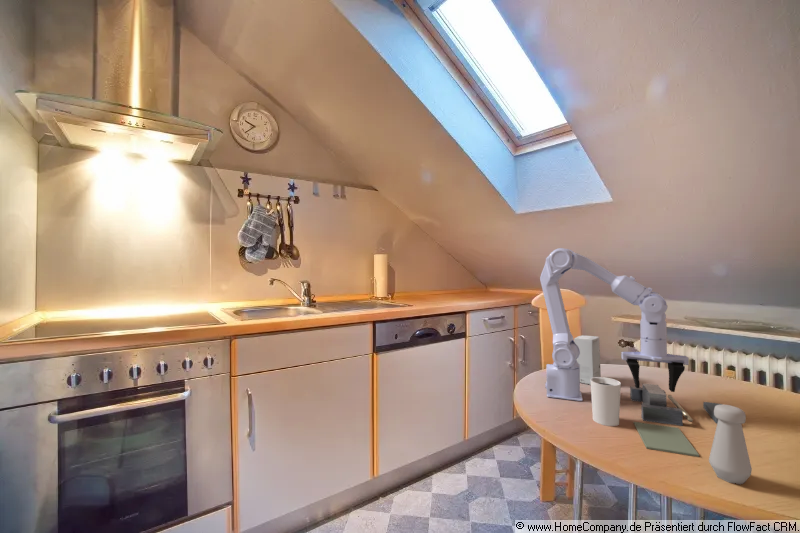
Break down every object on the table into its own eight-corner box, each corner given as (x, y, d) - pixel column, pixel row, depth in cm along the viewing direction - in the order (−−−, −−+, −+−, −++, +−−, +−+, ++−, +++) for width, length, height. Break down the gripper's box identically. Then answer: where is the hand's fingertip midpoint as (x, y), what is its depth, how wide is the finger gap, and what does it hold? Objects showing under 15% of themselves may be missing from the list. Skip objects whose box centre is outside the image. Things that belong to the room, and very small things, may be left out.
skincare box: (593, 386, 114) (593, 340, 114) (573, 382, 119) (573, 337, 118) (601, 379, 120) (600, 336, 120) (582, 376, 125) (581, 333, 125)
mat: (646, 448, 76) (646, 446, 76) (633, 423, 88) (633, 421, 88) (699, 457, 72) (699, 455, 72) (678, 429, 84) (678, 427, 84)
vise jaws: (643, 420, 89) (643, 406, 89) (630, 398, 104) (630, 386, 104) (693, 427, 85) (692, 412, 85) (672, 403, 100) (672, 390, 100)
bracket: (723, 411, 95) (723, 403, 95) (738, 429, 85) (738, 420, 85) (703, 409, 97) (702, 401, 97) (716, 425, 87) (716, 416, 87)
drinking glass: (624, 428, 85) (623, 386, 85) (593, 424, 87) (592, 384, 87) (617, 417, 91) (617, 378, 91) (588, 413, 93) (588, 376, 93)
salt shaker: (700, 469, 68) (699, 401, 68) (728, 467, 68) (727, 400, 68) (731, 488, 62) (731, 414, 62) (761, 486, 62) (760, 412, 62)
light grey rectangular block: (649, 416, 92) (649, 393, 92) (642, 404, 99) (642, 383, 99) (666, 418, 90) (666, 394, 90) (658, 406, 98) (657, 385, 98)
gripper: (624, 339, 94) (625, 390, 94) (692, 342, 88) (693, 397, 88) (619, 334, 100) (620, 382, 100) (683, 337, 95) (683, 388, 95)
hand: (654, 388), depth 95 cm, fingers open, 7 cm apart
